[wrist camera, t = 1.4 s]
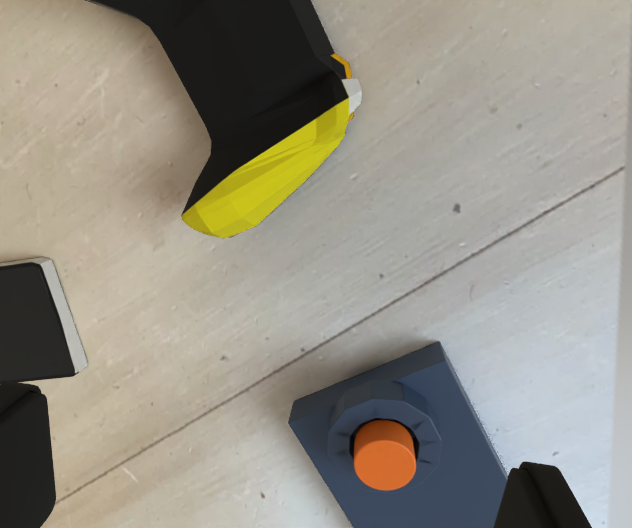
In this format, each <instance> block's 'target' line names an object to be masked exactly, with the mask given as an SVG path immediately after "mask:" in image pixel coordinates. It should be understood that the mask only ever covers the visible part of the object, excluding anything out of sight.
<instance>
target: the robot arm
mask: <svg viewBox="0 0 632 528" xmlns="http://www.w3.org/2000/svg"><path fill="white" fill-rule="evenodd" d="M55 501H56V491H55V480H54V470H53V459H52V448H51V437H50V427H49V416H48V405H47V398H46V396H45V395H44V394H41V390H40V389H39V387H38V386H35V385H31V384H24V383H18V382H11V381H8V382H4V383H2V384H0V528H40V527H41V526H42V525H43V523H44V522H45V521H46V520H47V518H48V517H49V515H50V514H51V512H52V510H53V508H54V505H55ZM493 528H592V527H591V525H590V523H589V522H588V520H587V518H586V516H585V514H584V513H583V511H582V509H581V507H580V506H579V504H578V502H577V500H576V498H575V497H574V495H573V493H572V491H571V489H570V488H569V486H568V484H567V482H566V481H565V479H564V477H563V475H562V473H561V472H560V470H559V469H558V468H557V467H555V466H551V465H544V464H538V463H531V462H523V463H522V464H521V465H520V467H519V469H518V468H512V469H511V471H510V473H509V476H508V480H507V483H506V486H505V490H504V493H503V497H502V500H501V503H500V507H499V510H498V514H497V517H496V521H495V524H494V527H493Z"/></svg>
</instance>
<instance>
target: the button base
mask: <svg viewBox="0 0 632 528" xmlns="http://www.w3.org/2000/svg"><path fill="white" fill-rule="evenodd" d="M375 420H390V421H394V422H397V423H399V424H400V425H402V426H403V427H404V428H405V429H406V430H407V431H408V432H409V433H410V435H411V437H412V440H413V446H414V453H415V460H416V471H415V474H414V476H413V478H412V479H411V480H410V482H408V483H407V484H406V485H405V486H403V487H401V488H398V489H395V490H387V491H386V490H378V489H374V488H372V487H370V486H368V485H366V484H365V483H363V482H362V481H361V480H360V479H359V477H358V476H357V474H356V472H355V469H354V442H355V437H356V434H357V433H358V431H359V430H360V429H361V428H362V427H363V426H364V425H365V424H367V423H369V422H371V421H375ZM288 423H289V425H290V427H291V428H292V430H293V431H294V433H295V435H296V436H297V438H298V439H299V441H300V443H301V444H302V446H303V447H304V449H305V451H306V452H307V454H308V455H309V457H310V459H311V460H312V462H313V463H314V465H315V467H316V468H317V470H318V471H319V473H320V475H321V476H322V478H323V479H324V481H325V483H326V484H327V486H328V487H329V489H330V491H331V492H332V494H333V495H334V497H335V499H336V500H337V502H338V503H339V505H340V507H341V508H342V510H343V511H344V513H345V515H346V516H347V518H348V519H349V521H350V522H351V524H352V526H353V527H354V528H493V527H494V524H495V521H496V517H497V514H498V510H499V507H500V503H501V500H502V497H503V493H504V490H505V486H506V483H507V480H508V475H507V473H506V471H505V469H504V467H503V465H502V463H501V461H500V460H499V458H498V456H497V454H496V452H495V450H494V448H493V446H492V444H491V442H490V440H489V438H488V436H487V434H486V432H485V430H484V428H483V426H482V424H481V422H480V420H479V418H478V416H477V414H476V412H475V410H474V408H473V406H472V404H471V402H470V400H469V398H468V396H467V394H466V392H465V390H464V388H463V386H462V385H461V383H460V381H459V379H458V377H457V375H456V373H455V371H454V369H453V367H452V365H451V363H450V361H449V359H448V357H447V355H446V353H445V351H444V349H443V347H442V345H441V343H440V342H437V343H435V344H433V345H430V346H428V347H425V348H423V349H420V350H418V351H416V352H413V353H411V354H408V355H406V356H403V357H401V358H399V359H396V360H394V361H391V362H389V363H386V364H384V365H382V366H379V367H377V368H374V369H372V370H369V371H367V372H365V373H362V374H360V375H357V376H355V377H352V378H350V379H348V380H345V381H343V382H340V383H338V384H335V385H333V386H331V387H328V388H326V389H323V390H321V391H318V392H316V393H313V394H311V395H309V396H306V397H304V398H301V399H299V400H296V401H294V403H293V406H292V410H291V414H290V418H289V422H288Z"/></svg>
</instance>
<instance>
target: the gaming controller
mask: <svg viewBox="0 0 632 528" xmlns="http://www.w3.org/2000/svg"><path fill="white" fill-rule="evenodd" d="M86 1H89V2H92V3H95V4H98V5H101V6H104V7H107V8H110V9H113V10H115V11H118V12H121V13H123V14H126V15H128V16H131V17H134V18H136V19H139V20H141V21H142V22H144V23H145V24H146V25H148V26H149V27H150V28H151V30H152V31H153V32H154V34H155V35H156V37H157V38H158V40H159V41H160V43H161V44H162V46H163V48H164V50H165V52H166V54H167V56H168V57H169V59H170V61H171V63H172V65H173V67H174V68H175V70H176V72H177V74H178V76H179V78H180V80H181V81H182V83H183V85H184V87H185V89H186V91H187V92H188V94H189V96H190V98H191V100H192V102H193V103H194V105H195V107H196V109H197V111H198V113H199V115H200V116H201V118H202V120H203V122H204V124H205V126H206V128H207V130H208V133H209V136H210V138H211V155H210V157H209V159H208V161H207V163H206V165H205V166H204V168H203V170H202V172H201V174H200V176H199V177H198V179H197V181H196V183H195V185H194V188H193V190H192V192H191V195H190V197H189V199H188V202H187V204H186V206H185V208H184V211H183V213H182V215H181V217H182V220H183V221H184V222H185V223H186V224H187V225H189V226H190V227H191V228H193V229H194V230H197V231H199V232H202V233H204V234H207V235H210V236H215V237H219V238H230V237H233V236H235V235H237V234H239V233H241V232H243V231H245V230H248V229H250V228H252V227H255V226H257V225H258V224H259V223H260V222H262V221H263V220H264V219H265V218H266V217H267V216H268V215H269V214H270V213H271V212H273V211H274V210H275V209H276V208H277V207H278V206H279V205H280V204H281V203H282V202H283V201H285V200H286V199H287V198H288V197H289V196H290V195H291V194H292V193H293V192H294V191H295V190H296V189H298V188H299V187H300V186H301V185H302V184H303V183H304V182H305V181H306V180H307V179H308V178H309V177H310V176H311V175H312V174H313V173H314V172H315V171H316V170H317V168H318V167H319V166H320V165H321V164H322V163H323V162H324V161H325V160H326V158H327V157H328V156H329V155H330V154H331V153H332V152H333V151H334V149H335V148H336V147H337V146H338V145H339V143H340V142H341V140H342V139H343V137H344V136H345V134H346V126H347V123H348V122H349V121H350V120H351V119H352V118H353V117H354V110H355V109H356V108H357V107H358V106H359V105H360V104H361V99H362V89H361V86H360V83H359V80H358V78H352V75H351V70H350V65H349V63H348V62H347V61H346V60H344V59H343V58H341V57H340V56H338V55H337V54H336V53H334V51H333V48H332V46H331V44H330V42H329V40H328V37H327V35H326V33H325V31H324V29H323V26H322V24H321V22H320V20H319V18H318V16H317V13H316V11H315V9H314V7H313V5H312V2H311V0H86Z"/></svg>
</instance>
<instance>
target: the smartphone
mask: <svg viewBox="0 0 632 528" xmlns="http://www.w3.org/2000/svg"><path fill="white" fill-rule="evenodd" d="M86 366H87V360H86V357H85V354H84V351H83V348H82V345H81V342H80V339H79V337H78V334H77V331H76V328H75V325H74V322H73V319H72V316H71V314H70V311H69V308H68V305H67V302H66V299H65V296H64V293H63V291H62V288H61V285H60V282H59V279H58V276H57V273H56V270H55V268H54V265H53V262H52V261H51V259H47V258H44V257H40V258H33V259H26V260H19V261H13V262H6V263H0V384H2V383H4V382H8V381H11V382H25V381H34V380H44V379H53V378H63V377H72V376H74V375H76V374H78V373H79V372H80V371H81V370H82V369H84V368H85V367H86Z"/></svg>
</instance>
